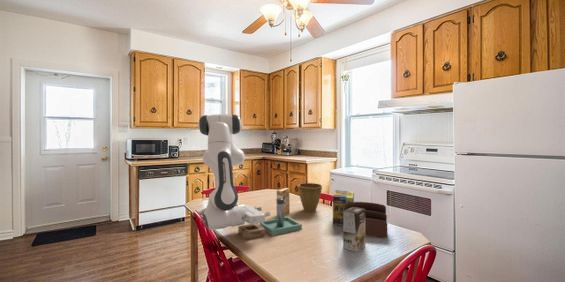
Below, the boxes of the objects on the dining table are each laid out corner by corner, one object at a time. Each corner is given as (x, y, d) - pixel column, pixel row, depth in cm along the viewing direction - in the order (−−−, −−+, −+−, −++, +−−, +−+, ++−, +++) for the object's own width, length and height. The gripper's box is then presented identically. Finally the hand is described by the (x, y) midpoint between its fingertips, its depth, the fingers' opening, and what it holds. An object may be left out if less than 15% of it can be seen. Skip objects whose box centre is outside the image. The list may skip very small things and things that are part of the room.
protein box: (332, 225, 138) (332, 196, 137) (335, 216, 153) (335, 190, 152) (352, 227, 135) (353, 197, 134) (353, 218, 150) (354, 191, 149)
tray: (259, 226, 136) (259, 221, 136) (287, 221, 144) (287, 216, 144) (272, 235, 124) (272, 230, 124) (301, 229, 132) (301, 224, 132)
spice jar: (275, 225, 135) (275, 198, 134) (281, 224, 137) (281, 197, 136) (278, 227, 131) (278, 200, 131) (285, 226, 133) (285, 199, 133)
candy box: (282, 217, 151) (282, 191, 150) (276, 216, 153) (276, 190, 152) (289, 213, 159) (289, 188, 158) (283, 212, 161) (283, 187, 160)
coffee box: (357, 252, 107) (357, 213, 106) (342, 248, 111) (342, 210, 110) (365, 245, 114) (366, 208, 113) (351, 241, 118) (352, 206, 117)
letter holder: (345, 226, 136) (345, 200, 135) (385, 231, 130) (386, 203, 129) (343, 234, 126) (343, 205, 126) (387, 239, 120) (387, 208, 120)
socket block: (238, 232, 128) (238, 226, 128) (256, 228, 133) (256, 222, 133) (245, 239, 119) (245, 233, 119) (265, 235, 124) (265, 229, 124)
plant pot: (295, 212, 159) (295, 186, 159) (301, 206, 174) (301, 182, 173) (320, 215, 155) (320, 188, 154) (323, 208, 169) (323, 183, 169)
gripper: (247, 215, 114) (274, 210, 120) (231, 203, 131) (256, 200, 138) (247, 229, 114) (274, 223, 121) (231, 216, 131) (256, 212, 138)
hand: (265, 211), depth 129 cm, fingers open, 8 cm apart
